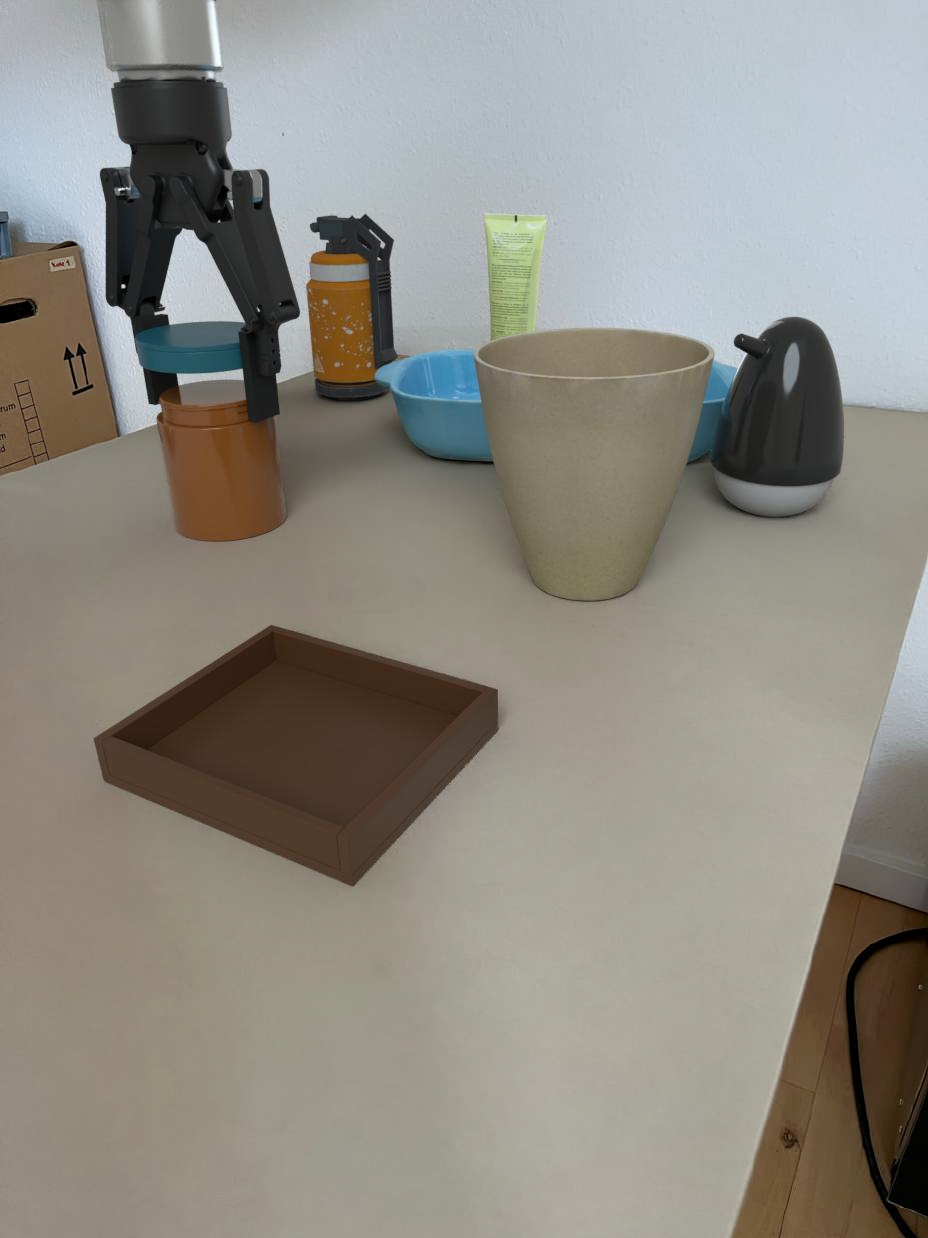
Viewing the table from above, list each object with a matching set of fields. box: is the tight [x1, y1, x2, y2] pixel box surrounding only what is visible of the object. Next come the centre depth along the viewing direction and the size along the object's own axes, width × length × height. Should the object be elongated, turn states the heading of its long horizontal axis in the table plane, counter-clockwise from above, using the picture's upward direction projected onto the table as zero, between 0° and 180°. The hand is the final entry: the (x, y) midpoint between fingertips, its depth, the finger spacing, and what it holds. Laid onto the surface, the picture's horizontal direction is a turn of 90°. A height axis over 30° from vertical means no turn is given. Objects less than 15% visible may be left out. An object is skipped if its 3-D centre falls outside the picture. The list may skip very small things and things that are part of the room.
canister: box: [305, 213, 399, 401], centre depth 108 cm, size 9×11×20 cm
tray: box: [93, 624, 499, 887], centre depth 48 cm, size 15×13×3 cm
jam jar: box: [155, 379, 287, 542], centre depth 75 cm, size 9×9×11 cm
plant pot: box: [474, 327, 716, 602], centre depth 63 cm, size 15×15×16 cm
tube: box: [483, 212, 548, 341], centre depth 110 cm, size 6×5×20 cm
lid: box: [135, 320, 246, 375], centre depth 71 cm, size 10×10×2 cm
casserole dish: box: [374, 348, 738, 464], centre depth 93 cm, size 37×22×7 cm, turn 86°
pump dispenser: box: [709, 316, 845, 518], centre depth 74 cm, size 10×10×15 cm
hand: (213, 408), depth 73 cm, fingers closed on lid, 10 cm apart
